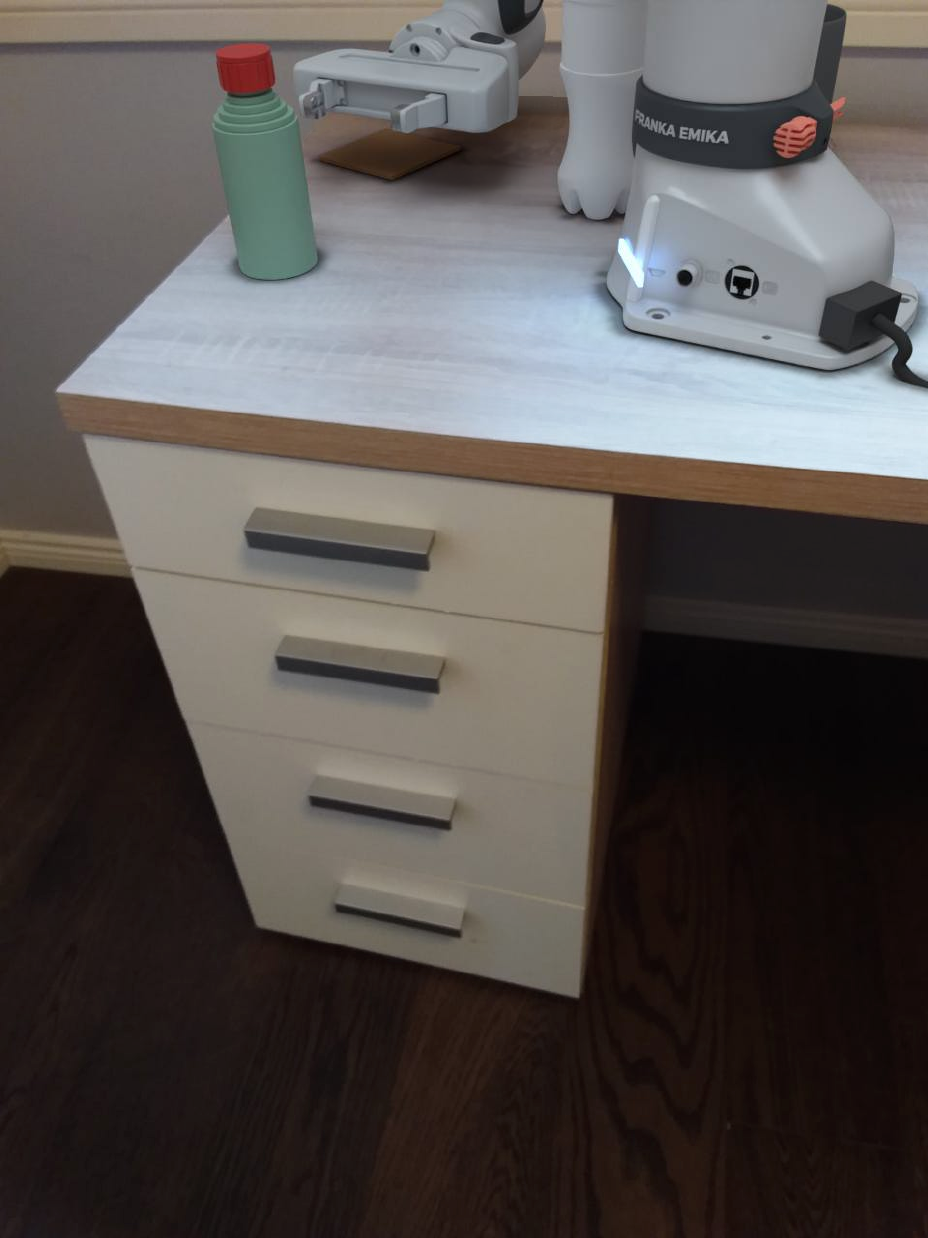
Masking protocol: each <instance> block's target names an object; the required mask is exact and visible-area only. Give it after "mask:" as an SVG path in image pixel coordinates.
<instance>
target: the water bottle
mask: <svg viewBox="0 0 928 1238" xmlns="http://www.w3.org/2000/svg"><path fill="white" fill-rule="evenodd" d="M561 1H562V2H561V3H562V4H561V48H560V49H561V50H560V52H561V54H560V56H561V57H560V61H559V64H558V65H559V68H558V70H559V74H560V77H561V79H562V83H563V86H564V89H565V92H566V93H565V94H566V98H567V104H568V119H569V123H568V124H569V126H568V135H567V136H568V137H567V141H566V146H565V151H564V153H563V156H562V160H561V163H560V165H559V167H558V170H557V173H556V174H557V175H556V177H557V187H558V193H559V196H560V200H561V202H562V204H563V206H564V208H565V210H566V211H567V212H568V213H569V214H573V215H575V214H577V213H579V212H580V211H581V210H582V211H583V213H584V214H585V217H586V218H588V219H590V220H594V221H595V220H597V221H599V220H605V219H608V218H609V217H610V216H611V215H612V213H613V211H614V210H615V211H616V212H617V213H619V214H620V215H621V214H626V210H627V204H628V199H629V194H630V188H631V182H632V175H633V168H634V161H635V158H634V155H633V148H632V125H633V111H634V101H635V91H636V83H637V80H638V79H639V77H641V76H642V75H643V67H644V52H645V38H646V24H647V10H648V0H561Z"/></svg>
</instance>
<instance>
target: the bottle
mask: <svg viewBox="0 0 928 1238" xmlns="http://www.w3.org/2000/svg"><path fill="white" fill-rule="evenodd" d="M221 101H222V104H220V105H219V106H218V108H217V111H216V112H215V113H214V114H213V118H212V120H213V121H212V122H211V130H212V134H213V140H214V145H215V150H216V155H217V160H218V165H219V170H220V175H221V180H222V185H223V190H224V196H225V201H226V205H227V210H228V215H229V221H230V226H231V232H232V235H233V240H234V245H235V250H236V255H237V260H238V266H239V270H240V272H242V274H244V275H245V276H247V277H249V278H251V279H256V280H264V281H265V280H266V281H274V280H275V281H276V280H286V279H289V278H294V277H297V276H301V275H303V274H306V273H308V272H309V271H311V270H312V269H313V268H315V267H316V266H317V263H318V261H319V257H318V256H319V255H318V250H317V244H316V237H315V229H314V222H313V215H312V209H311V200H310V194H309V188H308V180H307V174H306V172H307V171H306V167H305V166H306V165H305V159H304V151H303V145H302V138H301V131H300V124H299V119H298V118H299V117H298V114H296V112H295V111H294V107H292V106H291V105H290V104H288V103H287V101H286V100H285V99H284V98H282V97H280V94H279V93H278V92H275V91H274V90H273V88H272V87H270V88H268V89H265V90H262V91H257V92H251V93H232V92H227V91H226V97H224V98H223V99H222V100H221Z"/></svg>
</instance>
